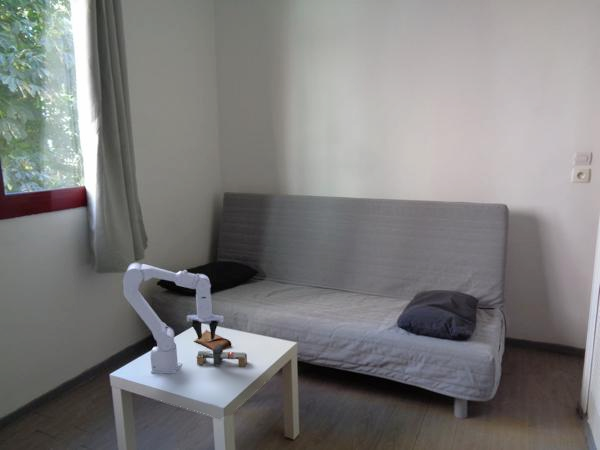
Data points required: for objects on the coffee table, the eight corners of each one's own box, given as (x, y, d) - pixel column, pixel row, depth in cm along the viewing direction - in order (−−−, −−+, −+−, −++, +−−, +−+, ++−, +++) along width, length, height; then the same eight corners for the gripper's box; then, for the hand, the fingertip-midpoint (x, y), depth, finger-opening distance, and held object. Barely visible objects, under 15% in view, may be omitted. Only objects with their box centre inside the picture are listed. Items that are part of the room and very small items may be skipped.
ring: (213, 365, 178) (212, 350, 177) (218, 358, 184) (217, 343, 182) (218, 365, 178) (217, 350, 177) (223, 358, 183) (222, 343, 182)
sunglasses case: (191, 341, 202) (197, 326, 203) (203, 344, 207) (208, 330, 208) (216, 353, 190) (221, 337, 191) (227, 355, 195) (233, 340, 196)
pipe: (197, 364, 180) (196, 353, 179) (200, 360, 184) (200, 348, 183) (244, 366, 177) (243, 355, 176) (247, 362, 181) (246, 350, 180)
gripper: (182, 309, 174) (185, 342, 177) (218, 309, 172) (221, 343, 175) (189, 302, 181) (192, 334, 184) (224, 303, 179) (226, 335, 182)
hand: (206, 338), depth 180 cm, fingers open, 5 cm apart
